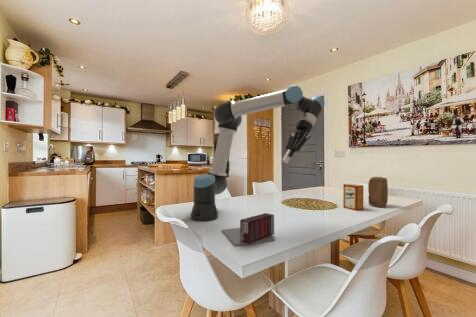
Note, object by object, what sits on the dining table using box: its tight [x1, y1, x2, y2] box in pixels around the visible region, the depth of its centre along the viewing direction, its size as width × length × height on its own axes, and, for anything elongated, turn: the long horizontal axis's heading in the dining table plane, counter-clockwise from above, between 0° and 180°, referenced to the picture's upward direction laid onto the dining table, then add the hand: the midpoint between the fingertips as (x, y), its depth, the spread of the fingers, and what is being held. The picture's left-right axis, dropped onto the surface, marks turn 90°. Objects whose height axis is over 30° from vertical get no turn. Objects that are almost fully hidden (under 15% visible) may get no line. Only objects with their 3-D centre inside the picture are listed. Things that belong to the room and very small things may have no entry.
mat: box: [221, 227, 276, 247], centre depth 93 cm, size 18×17×1 cm
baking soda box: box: [342, 183, 364, 212], centre depth 142 cm, size 10×6×16 cm
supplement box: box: [239, 212, 275, 245], centre depth 89 cm, size 9×5×16 cm
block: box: [367, 176, 389, 208], centre depth 150 cm, size 11×8×20 cm
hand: (284, 161), depth 107 cm, fingers closed
